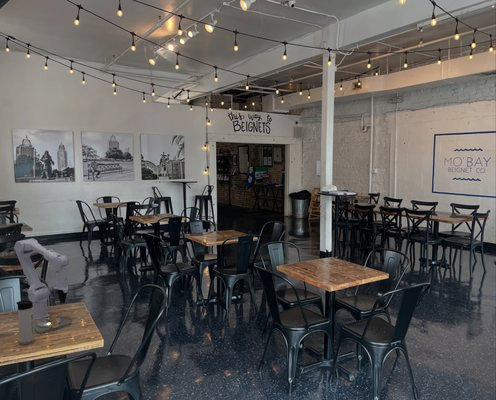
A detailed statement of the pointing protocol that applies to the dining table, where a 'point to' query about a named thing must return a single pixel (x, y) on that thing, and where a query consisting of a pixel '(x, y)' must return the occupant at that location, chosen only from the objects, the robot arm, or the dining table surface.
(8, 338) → the dining table surface
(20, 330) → the travel mug
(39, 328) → the base plate
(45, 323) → the lidded saucepan
